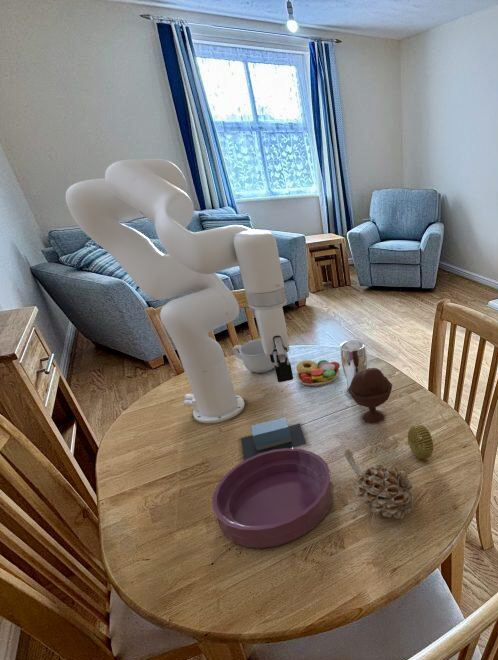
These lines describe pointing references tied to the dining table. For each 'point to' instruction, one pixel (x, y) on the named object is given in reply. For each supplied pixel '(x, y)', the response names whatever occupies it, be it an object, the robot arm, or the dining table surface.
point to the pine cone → (383, 489)
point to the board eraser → (271, 433)
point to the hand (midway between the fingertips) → (281, 370)
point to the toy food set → (317, 372)
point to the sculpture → (420, 441)
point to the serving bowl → (273, 497)
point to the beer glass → (353, 359)
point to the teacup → (254, 356)
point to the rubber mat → (251, 450)
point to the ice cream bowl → (370, 392)
